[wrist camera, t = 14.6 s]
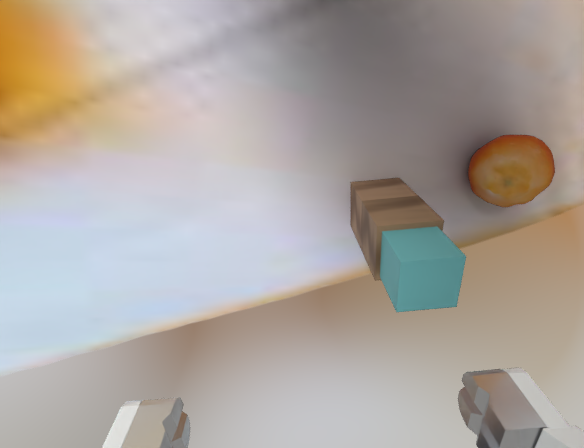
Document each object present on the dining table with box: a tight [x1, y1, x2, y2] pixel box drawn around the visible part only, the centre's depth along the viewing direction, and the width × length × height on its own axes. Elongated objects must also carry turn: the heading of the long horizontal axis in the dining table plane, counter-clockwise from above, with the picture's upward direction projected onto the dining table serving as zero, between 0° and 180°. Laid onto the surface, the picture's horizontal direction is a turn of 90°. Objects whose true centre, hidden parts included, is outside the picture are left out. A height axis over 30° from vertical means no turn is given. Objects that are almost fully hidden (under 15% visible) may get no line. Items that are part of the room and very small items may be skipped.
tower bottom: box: [351, 178, 418, 248], centre depth 38 cm, size 6×6×6 cm
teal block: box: [380, 226, 466, 312], centre depth 28 cm, size 5×5×5 cm
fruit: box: [468, 135, 555, 207], centre depth 36 cm, size 8×8×8 cm
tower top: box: [361, 196, 444, 280], centre depth 33 cm, size 6×6×6 cm
